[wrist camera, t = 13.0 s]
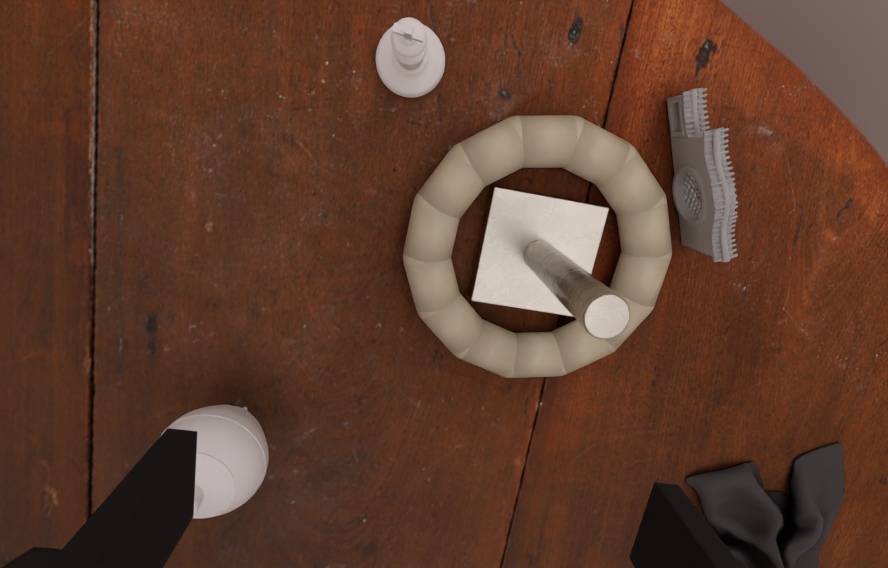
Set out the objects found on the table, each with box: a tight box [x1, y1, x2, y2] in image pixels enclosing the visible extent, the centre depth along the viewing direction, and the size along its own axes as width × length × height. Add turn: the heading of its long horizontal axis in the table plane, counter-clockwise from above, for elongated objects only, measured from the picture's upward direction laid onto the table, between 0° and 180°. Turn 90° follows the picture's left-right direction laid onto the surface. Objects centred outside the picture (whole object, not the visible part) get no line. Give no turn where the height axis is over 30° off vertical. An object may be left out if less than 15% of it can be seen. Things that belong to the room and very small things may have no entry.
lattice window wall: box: [667, 88, 738, 262], centre depth 35 cm, size 12×2×6 cm, turn 14°
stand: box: [469, 185, 630, 339], centre depth 32 cm, size 9×9×16 cm
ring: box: [403, 115, 672, 378], centre depth 37 cm, size 20×21×4 cm
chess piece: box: [376, 17, 445, 98], centre depth 30 cm, size 5×5×10 cm
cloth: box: [686, 443, 845, 568], centre depth 45 cm, size 22×19×6 cm
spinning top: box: [159, 405, 269, 519], centre depth 36 cm, size 8×8×12 cm
